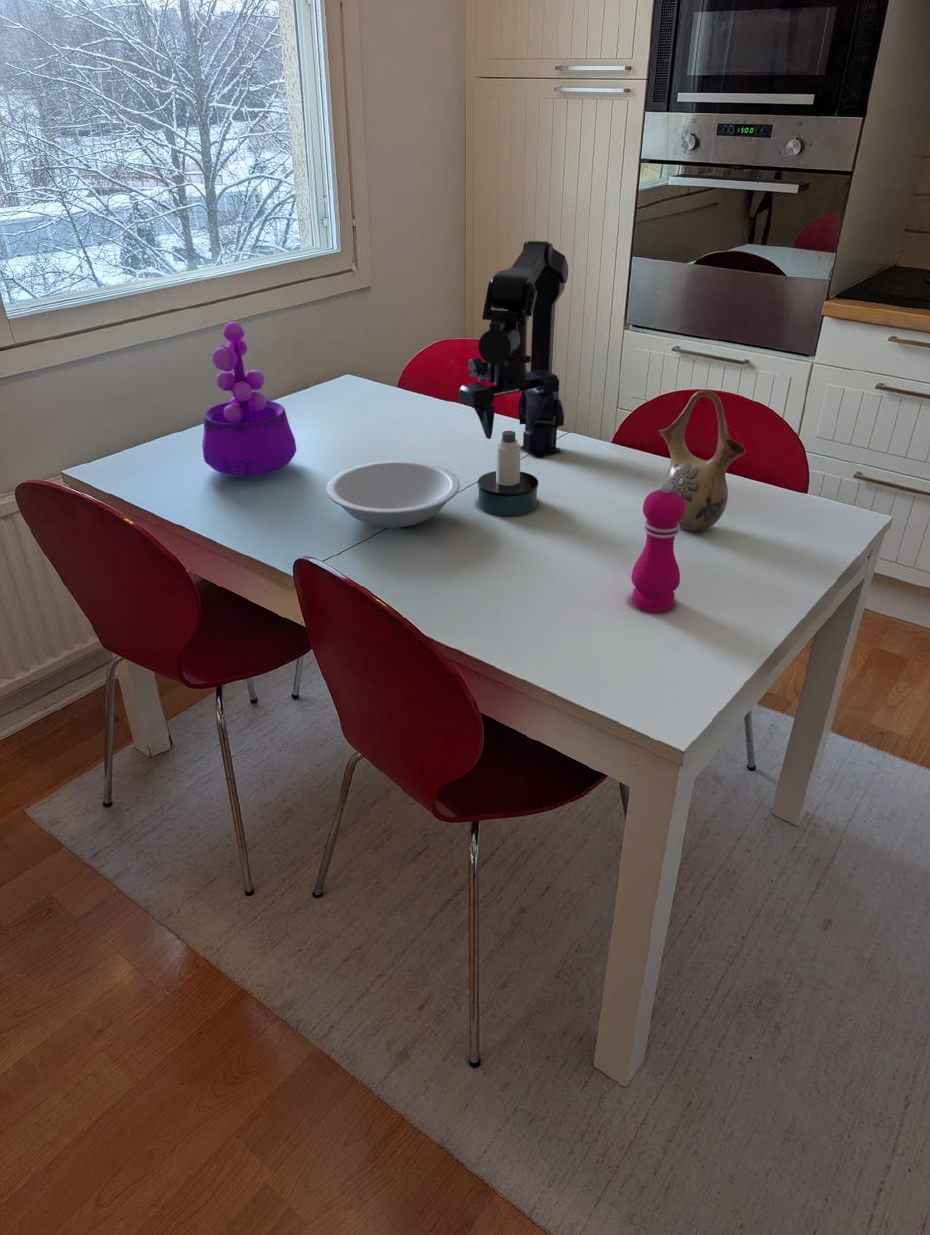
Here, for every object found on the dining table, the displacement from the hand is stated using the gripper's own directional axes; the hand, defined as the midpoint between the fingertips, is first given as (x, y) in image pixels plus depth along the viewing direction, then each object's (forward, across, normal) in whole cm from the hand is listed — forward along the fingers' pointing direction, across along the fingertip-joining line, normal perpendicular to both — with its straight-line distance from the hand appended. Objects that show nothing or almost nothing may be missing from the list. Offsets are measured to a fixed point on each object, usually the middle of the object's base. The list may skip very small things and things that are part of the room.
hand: (509, 433), depth 166 cm
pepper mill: (+12, +4, +46) cm, 48 cm away
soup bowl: (+13, +23, -3) cm, 27 cm away
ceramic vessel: (+13, -20, +29) cm, 37 cm away
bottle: (+8, +2, +3) cm, 9 cm away
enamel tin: (+13, +2, +3) cm, 13 cm away
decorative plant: (+13, +37, -40) cm, 56 cm away
